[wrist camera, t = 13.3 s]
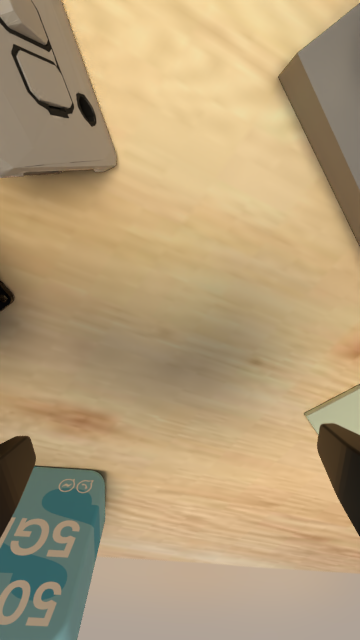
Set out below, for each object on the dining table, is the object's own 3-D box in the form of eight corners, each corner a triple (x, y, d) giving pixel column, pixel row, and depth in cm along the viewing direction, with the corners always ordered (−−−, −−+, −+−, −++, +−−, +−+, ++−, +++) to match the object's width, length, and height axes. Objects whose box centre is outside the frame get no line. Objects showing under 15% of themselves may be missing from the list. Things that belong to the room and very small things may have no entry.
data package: (108, 469, 28) (59, 656, 16) (108, 505, 29) (64, 696, 18) (-29, 460, 27) (-175, 645, 16) (-21, 497, 29) (-148, 688, 18)
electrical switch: (122, 167, 19) (47, 151, 10) (48, 196, 20) (-77, 204, 11) (51, -34, 15) (-150, -308, 7) (-34, 14, 16) (-299, -172, 8)
